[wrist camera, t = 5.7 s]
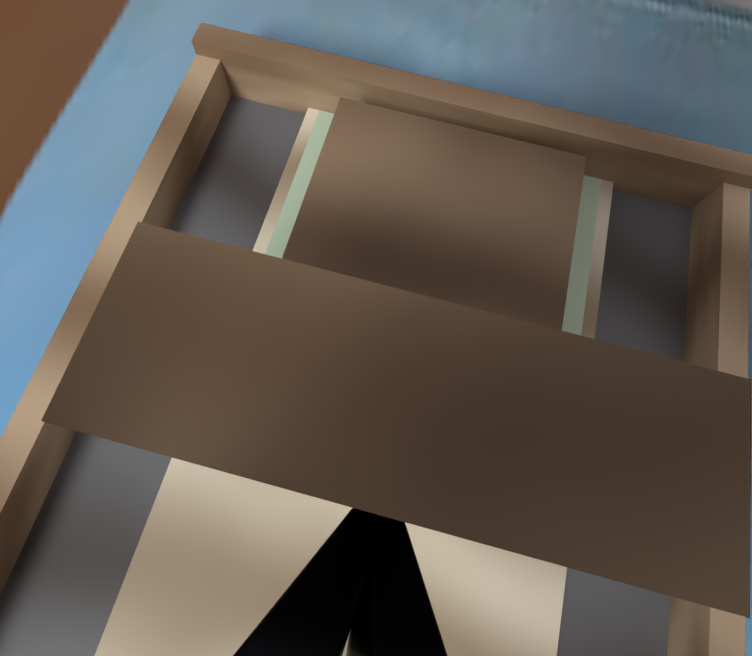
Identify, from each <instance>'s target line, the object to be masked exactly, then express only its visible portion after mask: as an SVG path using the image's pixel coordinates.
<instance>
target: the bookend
mask: <svg viewBox="0 0 752 656" xmlns="http://www.w3.org/2000/svg"><path fill="white" fill-rule="evenodd" d="M585 163H586V156H582V155H578V154H573V153H569V152H565V151H561V150H557V149H553V148H549V147H544V146H540V145H536V144H532V143H528V142H524V141H520V140H516V139H511V138H507V137H503V136H499V135H495V134H491V133H487V132H482V131H478V130H474V129H470V128H466V127H462V126H458V125H454V124H449V123H445V122H441V121H437V120H433V119H429V118H425V117H420V116H416V115H412V114H408V113H404V112H400V111H396V110H392V109H387V108H383V107H379V106H375V105H371V104H367V103H363V102H358V101H354V100H350V99H346V98H342V97H340V100H339V102H338V105H337V108H336V111H335V113H334V116H333V119H332V122H331V124H330V127H329V130H328V133H327V135H326V138H325V141H324V144H323V146H322V149H321V152H320V155H319V157H318V160H317V163H316V166H315V168H314V171H313V174H312V177H311V179H310V182H309V185H308V188H307V191H306V193H305V196H304V199H303V202H302V204H301V207H300V210H299V213H298V215H297V218H296V221H295V224H294V226H293V229H292V232H291V235H290V237H289V240H288V243H287V246H286V248H285V251H284V254H283V257H282V258H278V257H274V256H270V255H266V254H262V253H258V252H254V251H251V250H247V249H243V248H239V247H235V246H231V245H227V244H223V243H220V242H216V241H212V240H208V239H204V238H200V237H196V236H192V235H188V234H185V233H181V232H177V231H173V230H169V229H165V228H161V227H157V226H154V225H150V224H146V223H142V222H137V224H136V226H135V229H134V231H133V233H132V235H131V237H130V239H129V241H128V243H127V245H126V247H125V249H124V251H123V253H122V255H121V257H120V259H119V261H118V263H117V266H116V268H115V270H114V272H113V274H112V276H111V278H110V280H109V282H108V284H107V286H106V288H105V290H104V292H103V294H102V296H101V298H100V301H99V303H98V305H97V307H96V309H95V311H94V313H93V315H92V317H91V319H90V321H89V323H88V325H87V327H86V329H85V331H84V333H83V336H82V338H81V340H80V342H79V344H78V346H77V348H76V350H75V352H74V354H73V356H72V358H71V360H70V362H69V364H68V366H67V368H66V370H65V373H64V375H63V377H62V379H61V381H60V383H59V385H58V387H57V389H56V391H55V393H54V395H53V397H52V399H51V401H50V403H49V405H48V408H47V410H46V412H45V414H44V416H43V418H42V420H41V421H43V422H46V423H50V424H53V425H57V426H61V427H64V428H68V429H71V430H75V431H79V432H82V433H86V434H89V435H93V436H97V437H100V438H104V439H107V440H111V441H114V442H118V443H122V444H125V445H129V446H132V447H136V448H140V449H143V450H147V451H150V452H154V453H158V454H161V455H165V456H168V457H172V458H176V459H179V460H183V461H186V462H190V463H194V464H197V465H201V466H204V467H208V468H212V469H215V470H219V471H222V472H226V473H230V474H233V475H237V476H240V477H244V478H247V479H251V480H255V481H258V482H262V483H265V484H269V485H273V486H276V487H280V488H283V489H287V490H291V491H294V492H298V493H301V494H305V495H309V496H312V497H316V498H319V499H323V500H327V501H330V502H334V503H337V504H341V505H345V506H348V507H352V508H355V509H359V510H363V511H366V512H370V513H373V514H377V515H380V516H384V517H388V518H391V519H395V520H398V521H402V522H406V523H409V524H413V525H416V526H420V527H424V528H427V529H431V530H434V531H438V532H442V533H445V534H449V535H452V536H456V537H460V538H463V539H467V540H470V541H474V542H478V543H481V544H485V545H488V546H492V547H496V548H499V549H503V550H506V551H510V552H513V553H517V554H521V555H524V556H528V557H531V558H535V559H539V560H542V561H546V562H549V563H553V564H557V565H560V566H564V567H567V568H571V569H575V570H578V571H582V572H585V573H589V574H593V575H596V576H600V577H603V578H607V579H611V580H614V581H618V582H621V583H625V584H629V585H632V586H636V587H639V588H643V589H646V590H650V591H654V592H657V593H661V594H664V595H668V596H672V597H675V598H679V599H682V600H686V601H690V602H693V603H697V604H700V605H704V606H708V607H711V608H715V609H718V610H722V611H726V612H729V613H733V614H736V615H740V616H744V617H747V618H750V495H751V379H747V378H744V377H740V376H736V375H732V374H728V373H724V372H720V371H716V370H713V369H709V368H705V367H701V366H697V365H693V364H689V363H685V362H681V361H678V360H674V359H670V358H666V357H662V356H658V355H654V354H650V353H647V352H643V351H639V350H635V349H631V348H627V347H623V346H619V345H615V344H612V343H608V342H604V341H600V340H596V339H592V338H588V337H584V336H581V335H577V334H573V333H569V332H565V331H562V325H563V318H564V311H565V304H566V297H567V290H568V283H569V276H570V269H571V262H572V255H573V248H574V241H575V234H576V227H577V220H578V212H579V205H580V198H581V191H582V184H583V177H584V170H585Z"/></svg>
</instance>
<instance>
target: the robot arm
mask: <svg viewBox="0 0 752 656" xmlns="http://www.w3.org/2000/svg"><path fill="white" fill-rule="evenodd" d="M348 636H349V638H348ZM347 639H348V644H347V651H346V656H448V655H447V652H446V649H445V646H444V643H443V640H442V636H441V633H440V630H439V627H438V624H437V621H436V618H435V614H434V611H433V608H432V605H431V602H430V599H429V596H428V592H427V589H426V586H425V583H424V580H423V577H422V574H421V571H420V567H419V564H418V561H417V558H416V555H415V552H414V549H413V545H412V542H411V539H410V536H409V533H408V530H407V527H406V524H405V522H402V521H398V520H395V519H391V518H388V517H384V516H380V515H377V514H373V513H370V512H366V511H363V510H359V509H355V508H352V509H351V510H350V511H349V513H348V514H347V515H346V516H345V518H344V519H343V520H342V521H341V523H340V524H339V525H338V526H337V528H336V529H335V530H334V531H333V533H332V534H331V535H330V536H329V537H328V539H327V540H326V541H325V542H324V544H323V545H322V546H321V547H320V549H319V550H318V551H317V552H316V554H315V555H314V556H313V557H312V558H311V560H310V561H309V562H308V563H307V565H306V566H305V567H304V568H303V570H302V571H301V572H300V573H299V575H298V576H297V577H296V578H295V579H294V581H293V582H292V583H291V584H290V586H289V587H288V588H287V589H286V591H285V592H284V593H283V594H282V596H281V597H280V598H279V599H278V601H277V602H276V603H275V604H274V605H273V607H272V608H271V609H270V610H269V612H268V613H267V614H266V615H265V617H264V618H263V619H262V620H261V622H260V623H259V624H258V625H257V626H256V628H255V629H254V630H253V631H252V633H251V634H250V635H249V636H248V638H247V639H246V640H245V641H244V643H243V644H242V645H241V646H240V648H239V649H238V650H237V651H236V652H235V654H234V655H233V656H342V655H343V652H344V648H345V645H346V642H347Z"/></svg>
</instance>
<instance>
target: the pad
mask: <svg viewBox="0 0 752 656" xmlns="http://www.w3.org/2000/svg"><path fill="white" fill-rule="evenodd" d="M333 116H334V114H333V113H329V112H325V111H321V110H320V111H319V113H318V116H317V119H316V121H315V124H314V127H313V129H312V132H311V134H310V137H309V140H308V142H307V145H306V148H305V150H304V153H303V155H302V158H301V161H300V163H299V166H298V169H297V171H296V174H295V177H294V179H293V182H292V184H291V187H290V190H289V192H288V195H287V198H286V200H285V203H284V206H283V208H282V211H281V213H280V216H279V219H278V221H277V224H276V227H275V229H274V232H273V234H272V237H271V240H270V242H269V245H268V248H267V250H266V253H265V254H266V255H270V256H274V257H278V258H282V257H283V254H284V251H285V248H286V246H287V243H288V240H289V237H290V235H291V232H292V229H293V226H294V224H295V221H296V218H297V215H298V213H299V210H300V207H301V204H302V202H303V199H304V196H305V193H306V191H307V188H308V185H309V182H310V179H311V177H312V174H313V171H314V168H315V166H316V163H317V160H318V157H319V155H320V152H321V149H322V146H323V144H324V141H325V138H326V135H327V133H328V130H329V127H330V124H331V122H332V119H333ZM600 187H601V179H598V178H594V177H590V176H586V175H584V177H583V184H582V191H581V198H580V205H579V212H578V220H577V227H576V234H575V241H574V248H573V255H572V262H571V269H570V276H569V283H568V290H567V297H566V304H565V311H564V318H563V325H562V331H565V332H569V333H573V334H577V335H581V332H582V325H583V317H584V309H585V302H586V294H587V286H588V279H589V271H590V263H591V256H592V248H593V240H594V233H595V225H596V217H597V210H598V202H599V194H600Z"/></svg>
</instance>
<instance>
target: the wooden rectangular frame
mask: <svg viewBox="0 0 752 656" xmlns="http://www.w3.org/2000/svg"><path fill="white" fill-rule="evenodd" d="M192 44H193V46H194V49H195V52H196V56H195V58H194V60H193V62H192V64H191V66H190V68H189V70H188V72H187V74H186V76H185V78H184V80H183V82H182V83H181V85H180V87H179V89H178V91H177V93H176V95H175V97H174V99H173V101H172V103H171V105H170V107H169V109H168V111H167V113H166V115H165V117H164V119H163V121H162V123H161V125H160V127H159V129H158V131H157V133H156V134H155V136H154V138H153V140H152V142H151V144H150V146H149V148H148V150H147V152H146V154H145V156H144V158H143V160H142V162H141V164H140V166H139V168H138V170H137V172H136V174H135V176H134V178H133V180H132V182H131V183H130V185H129V187H128V189H127V191H126V193H125V195H124V197H123V199H122V201H121V203H120V205H119V207H118V209H117V211H116V213H115V215H114V217H113V219H112V221H111V223H110V225H109V227H108V229H107V231H106V232H105V234H104V236H103V238H102V240H101V242H100V244H99V246H98V248H97V250H96V252H95V254H94V256H93V258H92V260H91V262H90V264H89V266H88V268H87V270H86V272H85V274H84V276H83V278H82V280H81V282H80V283H79V285H78V287H77V289H76V291H75V293H74V295H73V297H72V299H71V301H70V303H69V305H68V307H67V309H66V311H65V313H64V315H63V317H62V319H61V321H60V323H59V325H58V327H57V329H56V331H55V332H54V334H53V336H52V338H51V340H50V342H49V344H48V346H47V348H46V350H45V352H44V354H43V356H42V358H41V360H40V362H39V364H38V366H37V368H36V370H35V372H34V374H33V376H32V378H31V380H30V381H29V383H28V385H27V387H26V389H25V391H24V393H23V395H22V397H21V399H20V401H19V403H18V405H17V407H16V409H15V411H14V413H13V415H12V417H11V419H10V421H9V423H8V425H7V427H6V429H5V431H4V432H3V434H2V436H1V438H0V656H233V655H234V654H235V652H236V651H237V650H238V649H239V648H240V646H241V645H242V644H243V643H244V641H245V640H246V639H247V638H248V636H249V635H250V634H251V633H252V631H253V630H254V629H255V628H256V626H257V625H258V624H259V623H260V622H261V620H262V619H263V618H264V617H265V615H266V614H267V613H268V612H269V610H270V609H271V608H272V607H273V605H274V604H275V603H276V602H277V601H278V599H279V598H280V597H281V596H282V594H283V593H284V592H285V591H286V589H287V588H288V587H289V586H290V584H291V583H292V582H293V581H294V579H295V578H296V577H297V576H298V575H299V573H300V572H301V571H302V570H303V568H304V567H305V566H306V565H307V563H308V562H309V561H310V560H311V558H312V557H313V556H314V555H315V554H316V552H317V551H318V550H319V549H320V547H321V546H322V545H323V544H324V542H325V541H326V540H327V539H328V537H329V536H330V535H331V534H332V533H333V531H334V530H335V529H336V528H337V526H338V525H339V524H340V523H341V521H342V520H343V519H344V518H345V516H346V515H347V514H348V513H349V511H350V510H351V509H352V507H348V506H345V505H341V504H337V503H334V502H330V501H327V500H323V499H319V498H316V497H312V496H309V495H305V494H301V493H298V492H294V491H291V490H287V489H283V488H280V487H276V486H273V485H269V484H265V483H262V482H258V481H255V480H251V479H247V478H244V477H240V476H237V475H233V474H230V473H226V472H222V471H219V470H215V469H212V468H208V467H204V466H201V465H197V464H194V463H190V462H186V461H183V460H179V459H176V458H172V457H168V456H165V455H161V454H158V453H154V452H150V451H147V450H143V449H140V448H136V447H132V446H129V445H125V444H122V443H118V442H114V441H111V440H107V439H104V438H100V437H97V436H93V435H89V434H86V433H82V432H79V431H75V430H71V429H68V428H64V427H61V426H57V425H53V424H50V423H46V422H43V421H41V420H42V418H43V416H44V414H45V412H46V410H47V408H48V405H49V403H50V401H51V399H52V397H53V395H54V393H55V391H56V389H57V387H58V385H59V383H60V381H61V379H62V377H63V375H64V373H65V370H66V368H67V366H68V364H69V362H70V360H71V358H72V356H73V354H74V352H75V350H76V348H77V346H78V344H79V342H80V340H81V338H82V336H83V333H84V331H85V329H86V327H87V325H88V323H89V321H90V319H91V317H92V315H93V313H94V311H95V309H96V307H97V305H98V303H99V301H100V298H101V296H102V294H103V292H104V290H105V288H106V286H107V284H108V282H109V280H110V278H111V276H112V274H113V272H114V270H115V268H116V266H117V263H118V261H119V259H120V257H121V255H122V253H123V251H124V249H125V247H126V245H127V243H128V241H129V239H130V237H131V235H132V233H133V231H134V229H135V226H136V224H137V222H142V223H146V224H150V225H154V226H157V227H161V228H165V229H169V230H173V231H177V232H181V233H185V234H188V235H192V236H196V237H200V238H204V239H208V240H212V241H216V242H220V243H223V244H227V245H231V246H235V247H239V248H243V249H247V250H251V251H254V252H258V253H262V254H265V253H266V250H267V248H268V245H269V242H270V240H271V237H272V234H273V232H274V229H275V227H276V224H277V221H278V219H279V216H280V213H281V211H282V208H283V206H284V203H285V200H286V198H287V195H288V192H289V190H290V187H291V184H292V182H293V179H294V177H295V174H296V171H297V169H298V166H299V163H300V161H301V158H302V155H303V153H304V150H305V148H306V145H307V142H308V140H309V137H310V134H311V132H312V129H313V127H314V124H315V121H316V119H317V116H318V113H319V111H320V110H321V111H325V112H329V113H333V114H334V113H335V111H336V108H337V105H338V102H339V100H340V97H342V98H346V99H350V100H354V101H358V102H363V103H367V104H371V105H375V106H379V107H383V108H387V109H392V110H396V111H400V112H404V113H408V114H412V115H416V116H420V117H425V118H429V119H433V120H437V121H441V122H445V123H449V124H454V125H458V126H462V127H466V128H470V129H474V130H478V131H482V132H487V133H491V134H495V135H499V136H503V137H507V138H511V139H516V140H520V141H524V142H528V143H532V144H536V145H540V146H544V147H549V148H553V149H557V150H561V151H565V152H569V153H573V154H578V155H582V156H586V163H585V170H584V175H586V176H590V177H594V178H598V179H601V187H600V194H599V202H598V210H597V217H596V225H595V233H594V240H593V248H592V256H591V263H590V271H589V279H588V286H587V294H586V302H585V309H584V317H583V325H582V332H581V336H584V337H588V338H592V339H596V340H600V341H604V342H608V343H612V344H615V345H619V346H623V347H627V348H631V349H635V350H639V351H643V352H647V353H650V354H654V355H658V356H662V357H666V358H670V359H674V360H678V361H681V362H685V363H689V364H693V365H697V366H701V367H705V368H709V369H713V370H716V371H720V372H724V373H728V374H732V375H736V376H740V377H744V378H747V379H748V341H749V239H750V188H752V155H751V154H747V153H743V152H739V151H735V150H730V149H726V148H722V147H718V146H714V145H710V144H705V143H701V142H697V141H693V140H689V139H685V138H680V137H676V136H672V135H668V134H664V133H660V132H655V131H651V130H647V129H643V128H639V127H635V126H630V125H626V124H622V123H618V122H614V121H610V120H605V119H601V118H597V117H593V116H589V115H585V114H580V113H576V112H572V111H568V110H564V109H560V108H555V107H551V106H547V105H543V104H539V103H534V102H530V101H526V100H522V99H518V98H514V97H509V96H505V95H501V94H497V93H493V92H489V91H484V90H480V89H476V88H472V87H468V86H464V85H459V84H455V83H451V82H447V81H443V80H439V79H434V78H430V77H426V76H422V75H418V74H414V73H409V72H405V71H401V70H397V69H393V68H389V67H384V66H380V65H376V64H372V63H368V62H364V61H359V60H355V59H351V58H347V57H343V56H339V55H334V54H330V53H326V52H322V51H318V50H314V49H309V48H305V47H301V46H297V45H293V44H289V43H284V42H280V41H276V40H272V39H268V38H264V37H259V36H255V35H251V34H247V33H243V32H239V31H234V30H230V29H226V28H222V27H218V26H214V25H209V24H205V23H201V24H200V26H199V28H198V30H197V31H196V33H195V35H194V37H193V39H192ZM405 524H406V527H407V530H408V533H409V536H410V539H411V542H412V545H413V549H414V552H415V555H416V558H417V561H418V564H419V567H420V571H421V574H422V577H423V580H424V583H425V586H426V589H427V592H428V596H429V599H430V602H431V605H432V608H433V611H434V614H435V618H436V621H437V624H438V627H439V630H440V633H441V636H442V640H443V643H444V646H445V649H446V652H447V655H448V656H745V645H746V617H744V616H740V615H736V614H733V613H729V612H726V611H722V610H718V609H715V608H711V607H708V606H704V605H700V604H697V603H693V602H690V601H686V600H682V599H679V598H675V597H672V596H668V595H664V594H661V593H657V592H654V591H650V590H646V589H643V588H639V587H636V586H632V585H629V584H625V583H621V582H618V581H614V580H611V579H607V578H603V577H600V576H596V575H593V574H589V573H585V572H582V571H578V570H575V569H571V568H567V567H564V566H560V565H557V564H553V563H549V562H546V561H542V560H539V559H535V558H531V557H528V556H524V555H521V554H517V553H513V552H510V551H506V550H503V549H499V548H496V547H492V546H488V545H485V544H481V543H478V542H474V541H470V540H467V539H463V538H460V537H456V536H452V535H449V534H445V533H442V532H438V531H434V530H431V529H427V528H424V527H420V526H416V525H413V524H409V523H406V522H405ZM348 638H349V636H348ZM347 644H348V639H347V642H346V645H345V648H344V652H343V655H342V656H346V651H347Z"/></svg>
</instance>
